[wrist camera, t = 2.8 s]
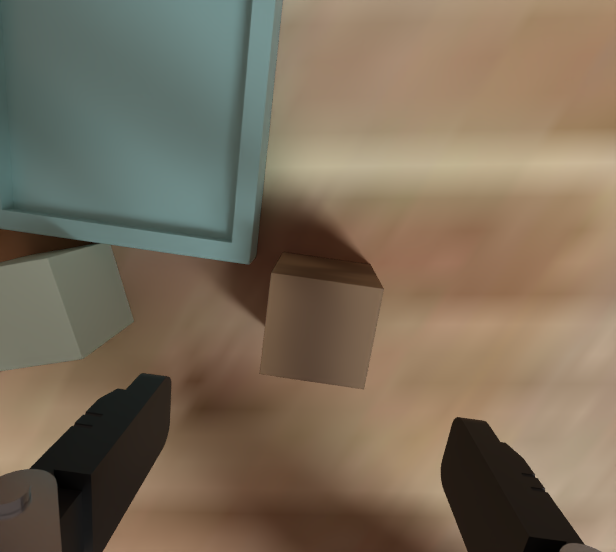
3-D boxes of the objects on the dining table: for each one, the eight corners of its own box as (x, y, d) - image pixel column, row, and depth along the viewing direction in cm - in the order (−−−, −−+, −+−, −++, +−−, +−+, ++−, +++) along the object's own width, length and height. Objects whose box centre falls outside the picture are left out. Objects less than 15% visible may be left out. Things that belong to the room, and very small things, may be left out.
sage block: (110, 240, 22) (47, 258, 17) (134, 321, 23) (82, 359, 18) (30, 254, 22) (-53, 275, 17) (58, 332, 23) (-12, 372, 18)
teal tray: (285, -29, 18) (281, -55, 16) (256, 256, 21) (249, 264, 19) (-4, -69, 18) (-44, -100, 16) (15, 222, 21) (-16, 226, 19)
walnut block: (370, 264, 21) (383, 288, 16) (355, 344, 22) (364, 389, 18) (283, 251, 21) (271, 272, 16) (273, 332, 22) (259, 374, 18)
